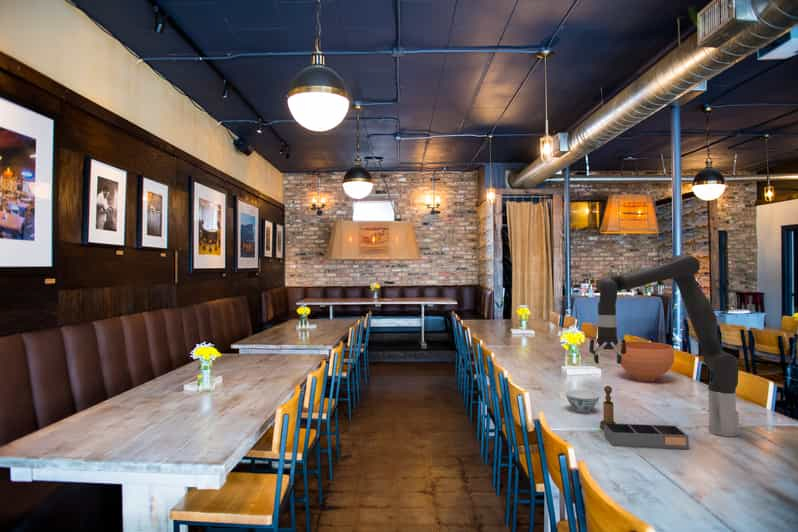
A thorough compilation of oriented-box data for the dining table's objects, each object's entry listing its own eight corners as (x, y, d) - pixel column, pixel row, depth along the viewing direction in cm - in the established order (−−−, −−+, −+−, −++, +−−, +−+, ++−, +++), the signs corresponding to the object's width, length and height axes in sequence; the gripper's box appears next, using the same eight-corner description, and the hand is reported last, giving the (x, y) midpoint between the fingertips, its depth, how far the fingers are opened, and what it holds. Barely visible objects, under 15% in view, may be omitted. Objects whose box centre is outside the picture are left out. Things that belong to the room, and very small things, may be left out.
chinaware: (603, 415, 213) (602, 399, 213) (568, 414, 216) (568, 397, 216) (595, 406, 228) (595, 390, 228) (563, 404, 231) (563, 389, 231)
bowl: (606, 377, 285) (605, 343, 285) (639, 371, 298) (639, 339, 298) (650, 388, 258) (650, 351, 258) (685, 381, 271) (685, 346, 271)
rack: (675, 438, 185) (675, 425, 185) (689, 449, 173) (688, 436, 173) (604, 435, 189) (604, 423, 189) (612, 446, 177) (612, 433, 177)
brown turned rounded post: (607, 432, 192) (606, 388, 193) (596, 426, 199) (596, 385, 199) (620, 430, 194) (620, 387, 194) (609, 425, 201) (609, 383, 201)
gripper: (622, 324, 199) (622, 362, 199) (587, 324, 201) (587, 361, 201) (627, 326, 192) (628, 365, 192) (591, 326, 194) (592, 365, 194)
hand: (607, 363), depth 197 cm, fingers open, 8 cm apart
